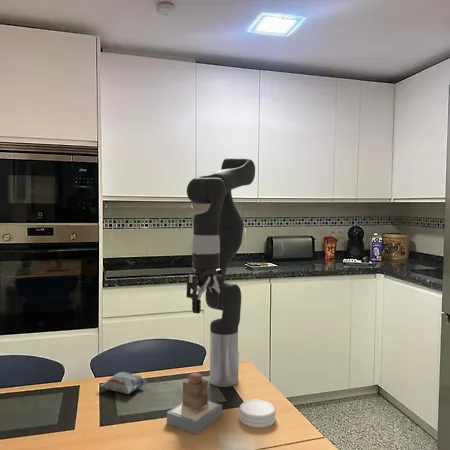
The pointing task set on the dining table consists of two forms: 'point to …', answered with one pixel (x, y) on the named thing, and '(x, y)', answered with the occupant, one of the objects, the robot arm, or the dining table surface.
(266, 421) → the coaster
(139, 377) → the packaged food
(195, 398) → the dome-topped square block
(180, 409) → the dock
